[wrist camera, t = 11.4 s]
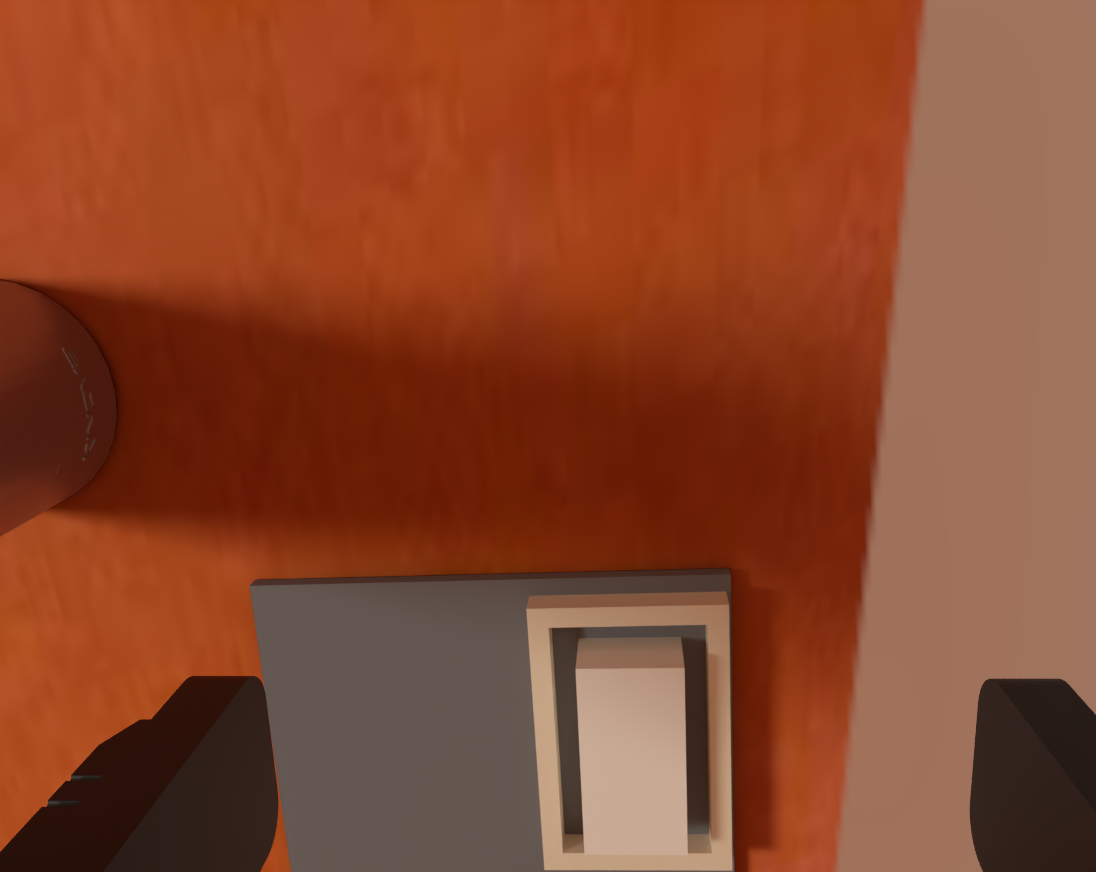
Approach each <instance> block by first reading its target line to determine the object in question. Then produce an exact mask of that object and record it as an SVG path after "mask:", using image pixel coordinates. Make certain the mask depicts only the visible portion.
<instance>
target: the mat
mask: <svg viewBox="0 0 1096 872" xmlns="http://www.w3.org/2000/svg"><path fill="white" fill-rule="evenodd" d="M250 592H251V599H252V605H253V612H254V619H255V626H256V633H257V640H258V647H259V653H260V660H261V667H262V674H263V681H264V688H265V694H266V700H267V708H268V715H269V722H270V729H271V736H272V743H273V750H274V756H275V763H276V770H277V777H278V784H279V791H280V798H281V805H282V811H283V818H284V825H285V832H286V839H287V846H288V853H289V859H290V866H291V872H734V791H733V705H732V619H731V573H730V569H729V568H721V569H680V570H639V571H598V572H557V573H516V574H475V575H434V576H393V577H352V578H311V579H270V580H255V581H254V582H253V583H252V584H251V585H250ZM630 637H681V642H682V651H683V659H684V667H685V723H686V781H687V840H688V855H584V835H583V815H582V794H581V773H580V752H579V732H578V711H577V690H576V659H577V649H578V639H579V638H630Z"/></svg>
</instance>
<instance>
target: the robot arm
mask: <svg viewBox="0 0 1096 872" xmlns="http://www.w3.org/2000/svg"><path fill="white" fill-rule="evenodd" d="M116 421H117V408H116V394H115V389H114V386H113V382H112V379H111V375H110V371H109V368H108V366H107V364H106V362H105V360H104V358H103V356H102V354H101V352H100V350H99V348H98V346H97V344H96V343H95V342H94V340H93V339H92V338H91V336H90V335H89V334H88V332H87V331H86V330H85V328H84V327H83V326H82V324H81V323H80V322H79V321H77V320H76V319H75V318H74V317H73V316H72V315H71V314H70V313H69V312H68V311H67V310H65V309H64V308H63V307H62V306H61V305H59V304H58V303H56V302H54V301H53V300H51V299H50V298H48V297H46V296H45V295H43V294H41V293H40V292H38V291H35V290H33V289H30V288H27V287H25V286H22V285H19V284H17V283H13V282H7V281H1V280H0V536H2V535H4V534H6V533H8V532H10V531H11V530H13V529H15V528H17V527H18V526H20V525H22V524H24V523H25V522H27V521H29V520H30V519H32V518H34V517H36V516H37V515H39V514H41V513H43V512H44V511H46V510H48V509H49V508H51V507H53V506H55V505H56V504H58V503H60V502H62V501H63V500H65V499H67V498H68V497H70V496H72V495H74V494H75V493H77V492H78V491H79V490H80V489H82V488H83V487H84V486H85V485H86V484H87V483H88V482H90V481H91V480H92V479H93V478H94V476H95V475H96V474H97V472H98V471H99V469H100V468H101V466H102V465H103V464H104V462H105V461H106V458H107V456H108V453H109V451H110V448H111V445H112V443H113V440H114V434H115V428H116ZM277 818H278V792H277V783H276V775H275V767H274V758H273V750H272V742H271V734H270V725H269V717H268V709H267V700H266V694H265V690H264V687H263V684H262V682H261V681H260V679H259V678H258V677H255V676H191V677H189V678H187V679H186V680H185V681H184V682H183V684H182V685H181V686H180V687H179V688H178V689H177V690H176V692H175V693H174V694H173V695H172V696H171V697H170V698H169V700H168V701H167V702H166V703H165V704H164V705H163V707H162V708H161V709H160V710H159V711H158V712H157V713H156V715H155V716H154V717H153V718H152V719H151V720H139V721H137V722H135V723H134V724H132V725H131V726H129V727H127V728H126V729H124V730H123V731H121V732H119V733H118V734H116V735H114V736H113V737H111V738H110V739H108V740H106V741H105V742H103V743H101V744H100V745H99V746H98V747H97V748H96V749H95V750H94V751H93V752H92V753H91V754H90V755H89V756H88V757H87V759H86V760H85V761H84V762H83V763H82V764H81V765H80V766H79V767H78V768H77V769H76V770H75V772H74V773H73V774H72V775H71V781H65V782H64V783H63V785H62V786H61V787H60V788H59V789H58V790H57V791H56V792H55V793H54V794H53V795H52V796H51V798H50V799H49V800H48V805H47V807H41V808H40V810H39V811H38V812H37V813H36V814H35V815H34V816H33V817H32V818H31V819H30V820H29V821H28V823H27V824H26V825H25V826H24V827H23V828H22V829H21V830H20V831H19V832H18V833H17V834H16V836H15V837H14V838H13V839H12V840H11V841H10V842H9V843H8V844H7V845H6V846H5V847H4V849H3V850H2V851H1V852H0V872H260V871H261V869H262V867H263V865H264V863H265V861H266V859H267V857H268V855H269V853H270V850H271V847H272V844H273V841H274V837H275V832H276V826H277ZM970 823H971V831H972V838H973V843H974V847H975V851H976V855H977V858H978V861H979V863H980V866H981V868H982V870H983V872H1096V715H1095V714H1094V712H1093V711H1092V710H1091V709H1090V708H1089V707H1088V706H1087V705H1086V704H1085V702H1084V701H1083V700H1082V699H1081V698H1080V697H1079V696H1078V695H1077V693H1076V692H1075V691H1074V690H1073V689H1072V688H1071V687H1070V685H1069V684H1067V683H1066V682H1065V681H1063V680H1062V679H988V680H986V681H985V682H984V684H983V685H982V688H981V690H980V695H979V701H978V712H977V724H976V736H975V748H974V760H973V774H972V785H971V798H970Z"/></svg>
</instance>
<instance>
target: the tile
mask: <svg viewBox="0 0 1096 872" xmlns="http://www.w3.org/2000/svg"><path fill="white" fill-rule="evenodd" d="M576 690H577V711H578V732H579V752H580V773H581V794H582V815H583V835H584V855H688V840H687V781H686V723H685V667H684V659H683V651H682V642H681V637H630V638H579V639H578V649H577V659H576Z"/></svg>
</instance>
